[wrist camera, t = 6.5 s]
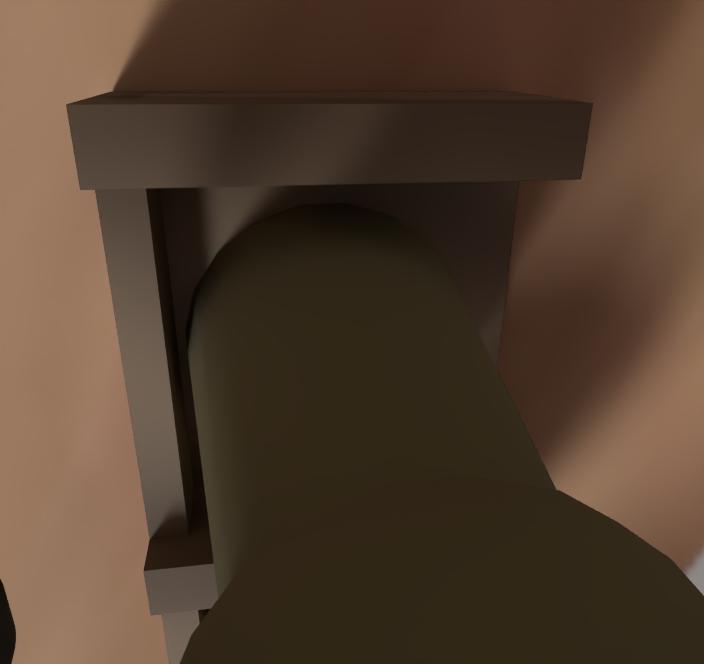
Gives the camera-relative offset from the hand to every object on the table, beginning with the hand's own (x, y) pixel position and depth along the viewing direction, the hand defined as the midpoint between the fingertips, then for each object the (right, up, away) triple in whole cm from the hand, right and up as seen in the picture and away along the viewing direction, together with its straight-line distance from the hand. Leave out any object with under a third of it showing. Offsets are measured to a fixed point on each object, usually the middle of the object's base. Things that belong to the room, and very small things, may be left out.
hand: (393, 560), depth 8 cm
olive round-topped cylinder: (-1, +3, +6) cm, 7 cm away
